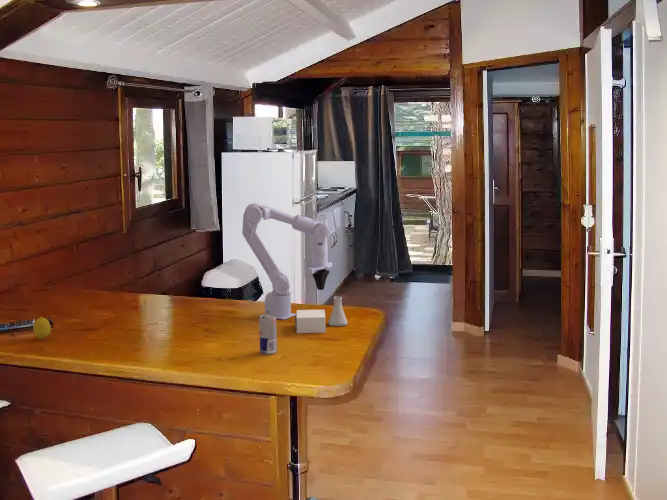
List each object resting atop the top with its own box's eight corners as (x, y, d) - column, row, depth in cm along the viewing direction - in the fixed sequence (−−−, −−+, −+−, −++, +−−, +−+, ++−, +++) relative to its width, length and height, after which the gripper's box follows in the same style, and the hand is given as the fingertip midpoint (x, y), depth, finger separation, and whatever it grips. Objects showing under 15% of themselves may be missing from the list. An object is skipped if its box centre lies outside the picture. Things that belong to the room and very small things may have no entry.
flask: (347, 327, 269) (347, 299, 267) (327, 326, 269) (326, 299, 268) (348, 321, 276) (348, 295, 274) (329, 321, 276) (328, 294, 275)
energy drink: (260, 350, 243) (259, 314, 240) (276, 349, 243) (275, 313, 241) (259, 355, 237) (258, 318, 235) (277, 354, 238) (276, 317, 236)
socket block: (295, 333, 261) (295, 317, 260) (296, 324, 272) (295, 310, 271) (325, 332, 262) (325, 317, 261) (324, 324, 273) (324, 309, 272)
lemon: (54, 338, 260) (53, 315, 258) (43, 342, 255) (42, 319, 253) (41, 336, 261) (39, 314, 260) (30, 341, 256) (28, 318, 255)
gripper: (318, 257, 274) (319, 294, 276) (339, 251, 286) (339, 286, 288) (302, 256, 277) (303, 292, 279) (323, 250, 289) (323, 284, 292)
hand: (320, 289), depth 284 cm, fingers closed
